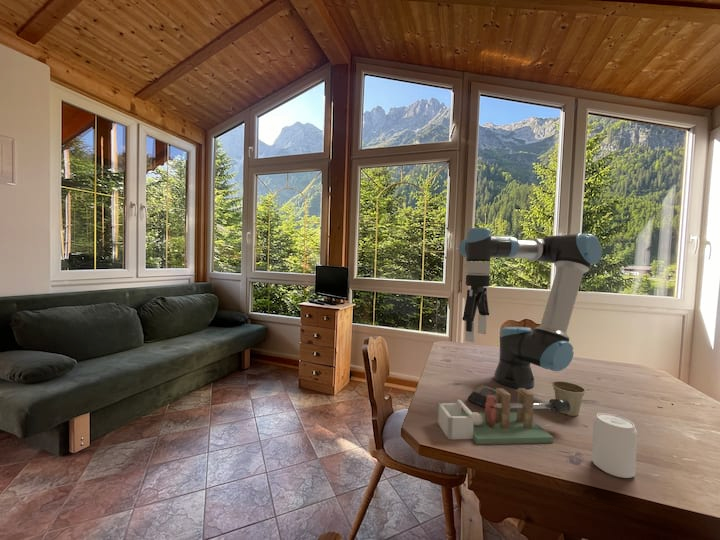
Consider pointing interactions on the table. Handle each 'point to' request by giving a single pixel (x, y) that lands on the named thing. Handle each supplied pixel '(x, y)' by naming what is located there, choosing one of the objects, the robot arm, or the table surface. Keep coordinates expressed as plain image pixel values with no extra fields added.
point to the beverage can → (614, 445)
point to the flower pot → (569, 395)
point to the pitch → (509, 432)
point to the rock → (482, 395)
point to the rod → (553, 404)
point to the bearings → (522, 414)
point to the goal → (455, 420)
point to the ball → (477, 419)
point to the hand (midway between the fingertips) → (476, 337)
